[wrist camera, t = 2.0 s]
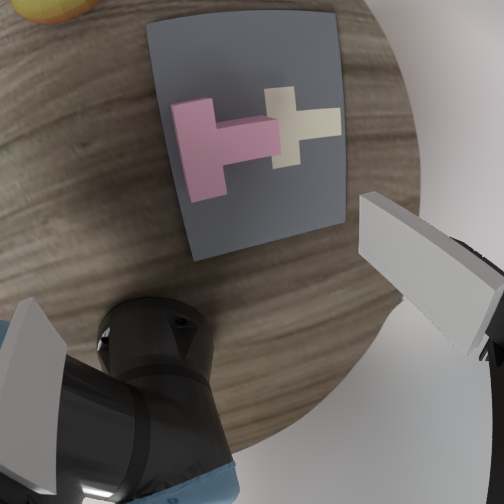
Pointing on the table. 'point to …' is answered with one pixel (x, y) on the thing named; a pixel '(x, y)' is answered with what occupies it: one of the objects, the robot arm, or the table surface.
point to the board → (255, 104)
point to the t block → (218, 144)
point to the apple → (52, 9)
